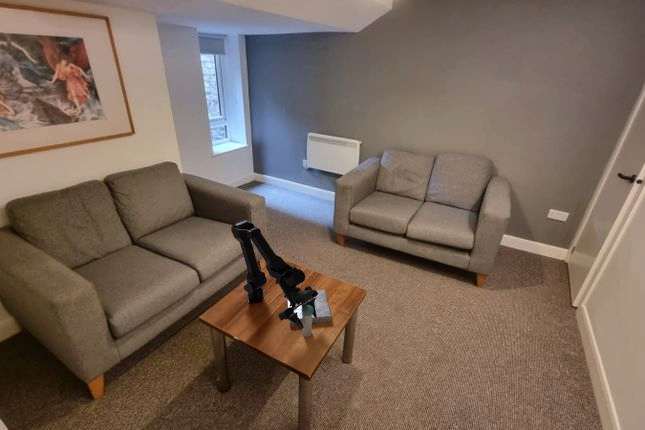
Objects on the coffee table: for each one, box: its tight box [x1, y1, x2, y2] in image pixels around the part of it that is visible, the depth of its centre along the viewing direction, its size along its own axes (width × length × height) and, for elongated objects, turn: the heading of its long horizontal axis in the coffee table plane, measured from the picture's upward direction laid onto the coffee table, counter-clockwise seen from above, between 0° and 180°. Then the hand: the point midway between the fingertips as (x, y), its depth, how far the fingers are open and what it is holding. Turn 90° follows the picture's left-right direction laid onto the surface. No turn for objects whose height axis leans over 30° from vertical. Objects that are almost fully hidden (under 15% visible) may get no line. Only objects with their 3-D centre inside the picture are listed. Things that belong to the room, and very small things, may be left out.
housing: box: [286, 289, 332, 326], centre depth 143 cm, size 18×18×3 cm
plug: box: [301, 304, 313, 338], centre depth 128 cm, size 5×5×13 cm
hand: (309, 322), depth 127 cm, fingers open, 8 cm apart
